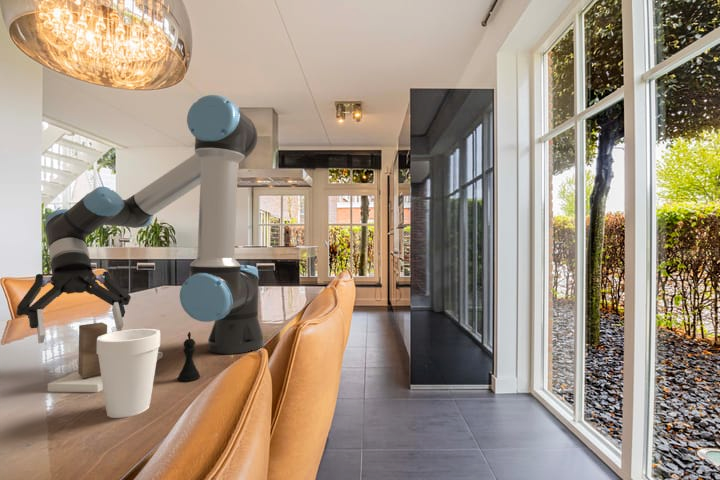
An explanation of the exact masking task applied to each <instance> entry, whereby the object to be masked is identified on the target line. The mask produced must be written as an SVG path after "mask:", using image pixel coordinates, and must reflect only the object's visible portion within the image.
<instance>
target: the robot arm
mask: <svg viewBox="0 0 720 480" xmlns="http://www.w3.org/2000/svg"><path fill="white" fill-rule="evenodd" d="M186 123H187V125H186V126H187V128H188V130H189V131H190V133H191V134H192V135H193V137H195V139H194V140H195V141H194V154H192V155H191V156H190V157H189V158H186V159H185V160H184V161H182V162H181V163H179V164H177V165H176V166H175V167H174V168H172V169H170V170H169V171H168V172H166V173H164V174H163V175H162V176H160V177H158V178H157V179H155V180H154V181H152V182H151V183H150V184H148V185H147V186H144V187H143V188H142V189H141V190H139V191H138V192H136V193H135V194H133V195H132V196H130V197H127V198H126V199H123V198H122V197H121V195H120V194H119V193H117V192H116V191H115V190H113V189H111V188H110V187H107V186H98V187H96V188H95V189H93V190H92V191H90V192H88V193H86V194H85V195H84V196H83V197H82V198H81V199H80V200H79V201H78V202H76V203H75V204H74V205H72V206H71V207H70V208H69V209H68V208H66V209H63V208H61V209H58V210H56V211H55V210H54V211H52V212H49V214H48V215H47V216H46V218H45V227H44V231H45V234H46V235H45V236H46V241H47V247H48V251H49V261H50V268H51V274H52V275H51V276H44V275H43V274H41V273H38V274H35V277H34V278H35V280H34V283H33V284H32V286H31V287H30V288H29V290H28V291H27V293H26V294H25V295H24V296H23V297H22V299H21V300H20V302H19V303H18V305H17V307H16V315H17V316H19V317H22V316H27V318H28V322H29V328H30V329H37V341H38V344H44V341H45V337H46V331H45V322H44V321H45V320H44V315H43V314H44V313H43V310H44V309H45V308H46V307H47V306H48V305H50V304H51V303H52V302H53V301H54V300H55V299H56V298H58V297H60V296H61V295H62V294H64V293H65V294H66V295H70V294H71V295H72V294H74V293H75V294H76V293H77V294H82V293H84V294H85V293H87V294H90V295H94V296H95V297H97V298H99V299H100V300H102V301H103V302H106V303H107V304H109V305H111V306H112V308H111V311H112V316H113V320H114V324H115V328H116V331H123V326H124V319H123V318H124V317H125V314H126V309H125V306H128V305H129V303H130V301H131V299H132V297H131V295H130V294H129V292H127V291H126V290H124V288H123V287H121V286H120V284H118V283H117V282H116V281H115V280H114V279H113V277H111V275H110V272H109V271H107V270H106V271H103V272H102V273H101V274H95V273H94V271H93V267H92V262H91V257H90V252H89V249H88V244H87V238H88V237H89V236H90V235H91V234H93V233H94V232H96V231H97V230H98V229H100V228H101V227H102V226H114V227H124V228H125V227H126V228H133V229H137V228H145V227H147V226H149V225H151V223H152V222H153V221H152V220H153V219H154V216H155V215H156V214H157V213H159V212H160V211H161V210H163V209H165V208H166V207H168V206H169V205H171V204H172V203H174V202H175V201H177V200H179V199H180V198H181V197H183V196H185V195H187V194H188V193H189V192H190V191H192V190H194V189H195V188H197V187H198V186H199V206H198V208H199V210H198V211H199V212H198V228H197V229H198V231H197V232H198V233H197V239H198V240H197V256H196V258H195V259H194V260H193V261H192V262H191V263H190V264H189V277H188V278H187V279H185V281H184V282H183V283H182V285H181V287H180V289H179V290H180V291H179V301H180V304H181V307H182V309H183V310H184V312H185V313H186V314H187V315H188V316H189V317H190V318H192V319H193V320H195V321H199V322H202V323H203V322H204V323H210V322H213V325H212V328H211V331H210V334H209V337H208V340H207V351H208V352H210V353H213V354H214V353H215V354H224V355H225V354H226V355H227V354H228V355H231V354H240V353H247V352H248V351H249V352H253V351H256V350H258V349H261V348H262V347H263V346H264V343H265V336H264V333H263V330H262V326H261V323H260V321H259V310H258V309H259V280H260V277H259V270H258V268H257V266H253V265H249V264H247V265H245V264H240V262H238V260H236V258H235V257H236V256H235V251H236V249H235V248H236V247H235V246H236V225H237V224H236V223H237V204H238V203H237V201H238V200H237V199H238V198H237V197H238V196H237V195H238V194H237V193H238V178H239V177H238V175H239V172H238V171H239V164H240V163H241V162H242V161H244V160H246V159H247V158H248V157H249V156H250V155H251V154H252V153H253V152H254V150H255V149H256V146H257V144H258V139H259V137H258V130H257V128H256V126H255V124H254V122H253V121H252V120H251V119H250V118H249V117H248V116H247V115H245V113H244V112H242V111H241V110H240V109H239V108H238V106H237V105H236V104H235V103H234V102H232V100H230V99H227V98H226V97H224V96H222V95H218V94H208V95H205V96H202V97H200V98H198V100H196V101H195V102H193V103H192V105H191V106H190V108H189V109H188V111H187V115H186ZM97 281H98V282H97ZM99 283H100V284H99ZM47 284H51V285H52V286H53V287H51V289H49V290H48V291H47V292H46V293H44V294H43V295H42V296H41V297H40V298H39V299H37V300H36V301H35V299H36V297H37V296H38V295H39V294H40V293H41V290H42V288H44V287H46V286H47ZM102 285H103V286H102ZM34 301H35V302H34ZM251 350H252V351H251Z"/></svg>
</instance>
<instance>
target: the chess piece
mask: <svg viewBox="0 0 720 480" xmlns="http://www.w3.org/2000/svg"><path fill="white" fill-rule="evenodd" d="M191 334H192V333H191V332H190V331H189V332H188V333H187V337H188V338H187V339H185V340H184V342H183V343H182V344H183V346H184V347H183V348H184V349H183V350H182V351H183V353H184V356H185V361H184V365H183V366H182V369H181V371H180V372H179V374H178V377H177V382H179V383H190V382H194V381H197V380H199V379H200V378H201V374H200V371H199V370H198V369H197V367H196V365H195V362H194V361H193V360H194V359H193V358H194V353H195V351H196V348H195V345H196V341H195V340H194V339H193V338H191Z"/></svg>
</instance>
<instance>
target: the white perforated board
mask: <svg viewBox="0 0 720 480" xmlns="http://www.w3.org/2000/svg"><path fill="white" fill-rule="evenodd" d="M163 356H164V355H163V351H158V355H157V361H159V360H161V359H163ZM101 391H103V385H102V378H101V374H99V375H95V376H90V377H86V378H82V377H81V376H80V375H79V374H78V371H75V372H72V373H70V374H67V375H66V376H63V377H61V378H58V379H55V380H53V381H51V382H49V383H47V392H52V393H53V392H54V393H55V392H56V393H57V392H58V393H63V392H64V393H99V392H101Z"/></svg>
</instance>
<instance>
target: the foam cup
mask: <svg viewBox="0 0 720 480" xmlns="http://www.w3.org/2000/svg"><path fill="white" fill-rule="evenodd" d="M160 346H161V330H159V329H155V328H133V329H125V330H124V329H122V330H121V331H117V330H115V331H113V332H107V334H104V335H102V336H99V337H98V338H97V354H98V357H99V364H100V371H101V378H102V385H103V390H102V391H103V398H104V404H105V411H106V416H107V417H109V418H112V419H121V418H122V419H123V418H130V417H132V416H133V417H134V416H136V415H137V416H138V415H139V414H142V413H144V412H146V411H147V410H148V409H149V408H150V404H151V401H152V393H153V386H154V380H155V374H156V367H157V362H158V360H157V355H158V352H159V348H160Z"/></svg>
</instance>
